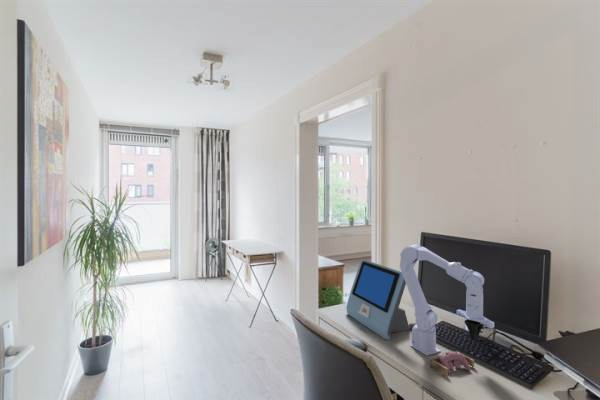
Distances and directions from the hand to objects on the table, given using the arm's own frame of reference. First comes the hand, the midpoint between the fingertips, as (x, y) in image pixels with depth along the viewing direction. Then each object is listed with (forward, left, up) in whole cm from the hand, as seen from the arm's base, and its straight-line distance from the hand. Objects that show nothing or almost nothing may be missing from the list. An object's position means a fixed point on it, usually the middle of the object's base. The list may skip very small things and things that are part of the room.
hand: (474, 339), depth 122 cm
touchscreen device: (-46, -9, -10) cm, 48 cm away
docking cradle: (-1, -10, -9) cm, 14 cm away
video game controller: (-1, -10, -10) cm, 14 cm away
